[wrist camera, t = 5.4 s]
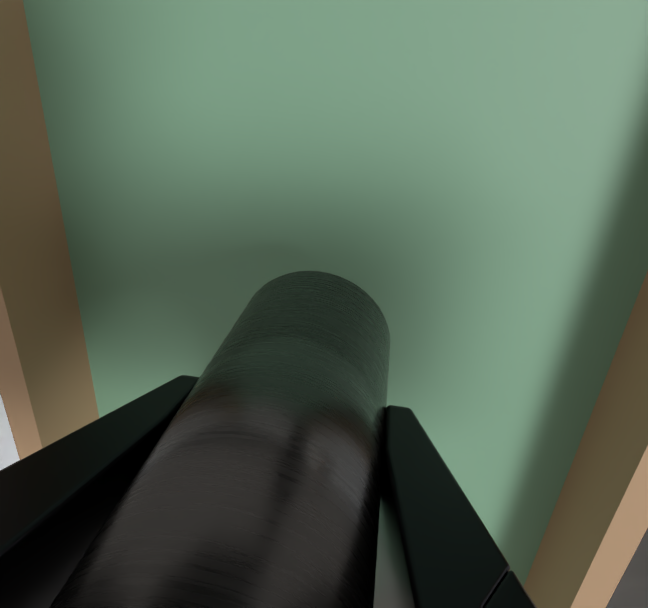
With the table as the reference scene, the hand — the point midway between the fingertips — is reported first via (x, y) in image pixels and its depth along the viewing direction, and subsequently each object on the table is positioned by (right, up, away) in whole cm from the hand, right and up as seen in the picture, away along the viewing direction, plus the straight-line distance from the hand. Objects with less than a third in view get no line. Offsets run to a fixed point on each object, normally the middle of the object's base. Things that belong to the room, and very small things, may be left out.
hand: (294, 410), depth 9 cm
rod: (0, -4, +7) cm, 7 cm away
